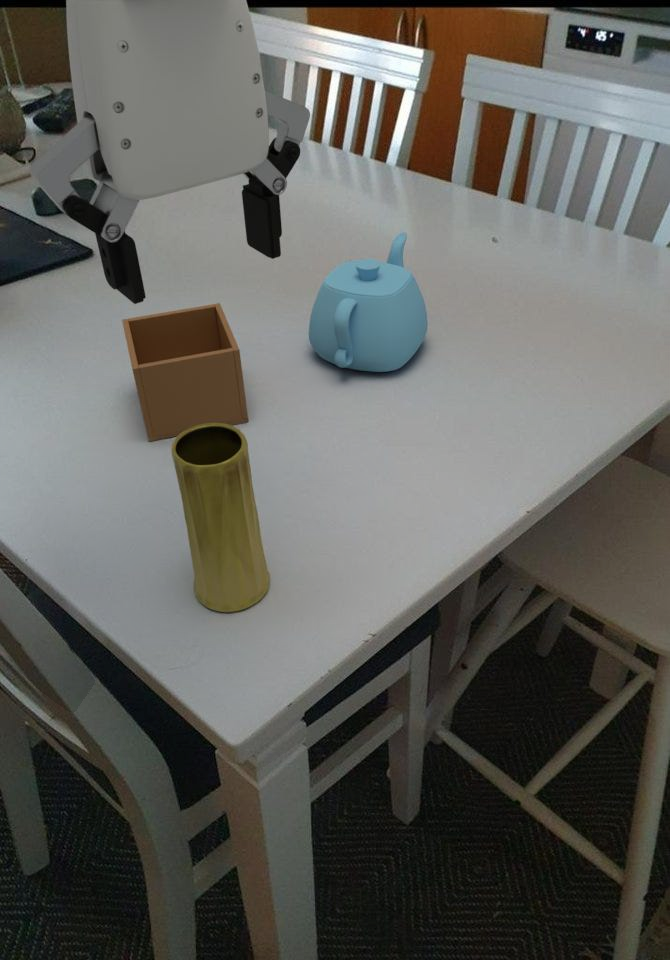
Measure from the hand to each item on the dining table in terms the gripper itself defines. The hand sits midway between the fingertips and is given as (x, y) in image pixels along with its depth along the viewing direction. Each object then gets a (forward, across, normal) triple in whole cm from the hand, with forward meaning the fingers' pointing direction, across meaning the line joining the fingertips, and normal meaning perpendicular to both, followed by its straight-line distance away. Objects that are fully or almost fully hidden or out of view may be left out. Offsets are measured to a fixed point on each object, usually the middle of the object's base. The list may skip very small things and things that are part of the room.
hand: (199, 272), depth 51 cm
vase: (+26, +2, +2) cm, 26 cm away
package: (+26, -8, -23) cm, 35 cm away
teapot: (+26, -30, -20) cm, 45 cm away
